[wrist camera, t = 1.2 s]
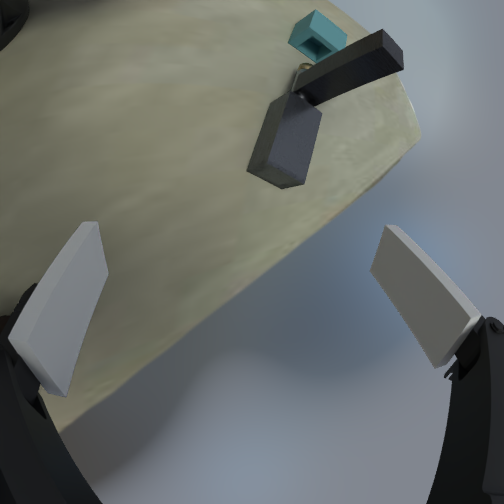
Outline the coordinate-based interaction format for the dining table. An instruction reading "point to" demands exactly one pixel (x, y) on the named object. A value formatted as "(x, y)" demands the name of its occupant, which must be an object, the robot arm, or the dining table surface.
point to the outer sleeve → (286, 142)
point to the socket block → (317, 37)
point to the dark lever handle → (348, 68)
